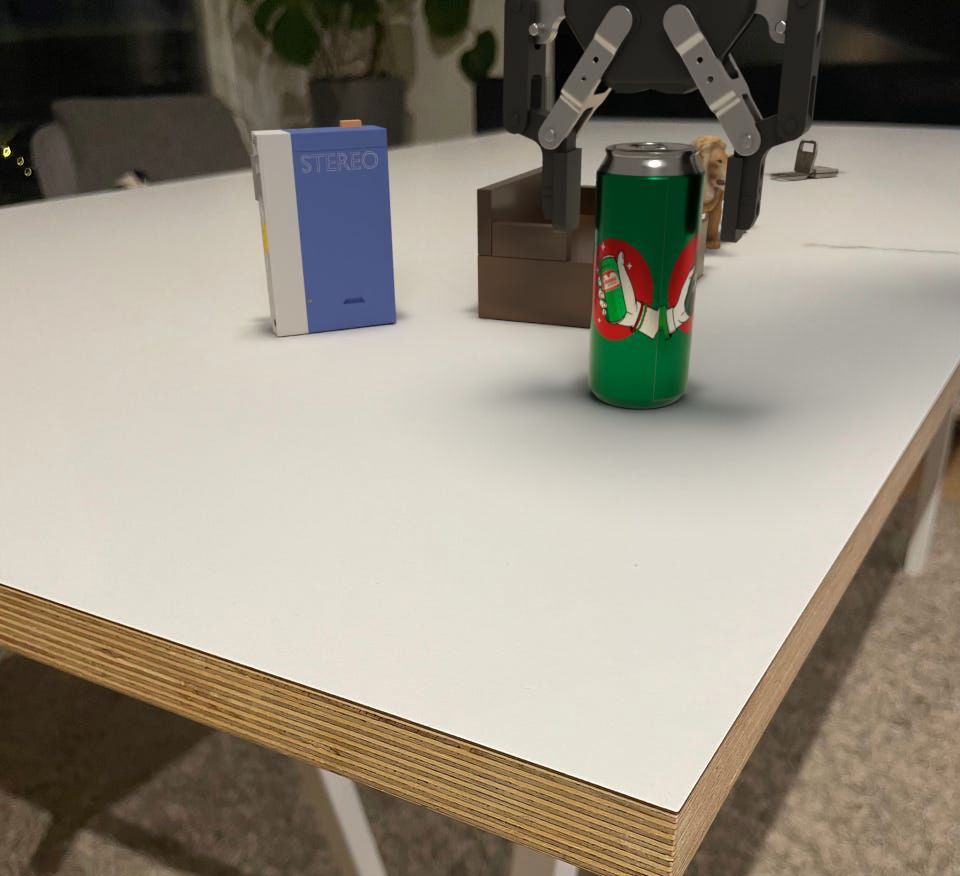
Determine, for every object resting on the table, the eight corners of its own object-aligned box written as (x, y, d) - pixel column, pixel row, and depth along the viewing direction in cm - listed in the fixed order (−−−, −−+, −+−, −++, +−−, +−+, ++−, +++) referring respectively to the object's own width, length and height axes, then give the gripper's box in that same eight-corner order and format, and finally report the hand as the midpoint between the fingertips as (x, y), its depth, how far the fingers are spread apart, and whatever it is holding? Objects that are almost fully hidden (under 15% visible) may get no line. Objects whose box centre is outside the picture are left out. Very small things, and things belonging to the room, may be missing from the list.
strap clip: (823, 173, 128) (827, 136, 126) (840, 176, 126) (845, 138, 124) (767, 178, 125) (771, 140, 123) (784, 181, 123) (788, 142, 121)
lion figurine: (727, 258, 84) (738, 138, 80) (661, 254, 86) (669, 136, 81) (752, 227, 96) (763, 122, 92) (694, 224, 98) (703, 120, 94)
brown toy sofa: (703, 273, 79) (712, 161, 75) (641, 332, 64) (649, 197, 61) (565, 263, 83) (568, 156, 79) (478, 317, 68) (476, 189, 65)
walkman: (383, 313, 69) (372, 118, 64) (396, 323, 67) (386, 122, 62) (266, 326, 67) (244, 124, 61) (276, 337, 65) (254, 128, 59)
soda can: (667, 378, 56) (685, 139, 51) (701, 408, 52) (724, 150, 46) (577, 384, 55) (585, 142, 50) (602, 415, 51) (614, 154, 45)
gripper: (864, -181, 43) (809, 231, 50) (537, -156, 48) (533, 215, 55) (845, -213, 37) (786, 260, 44) (473, -181, 42) (478, 239, 49)
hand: (645, 234), depth 50 cm, fingers open, 7 cm apart
